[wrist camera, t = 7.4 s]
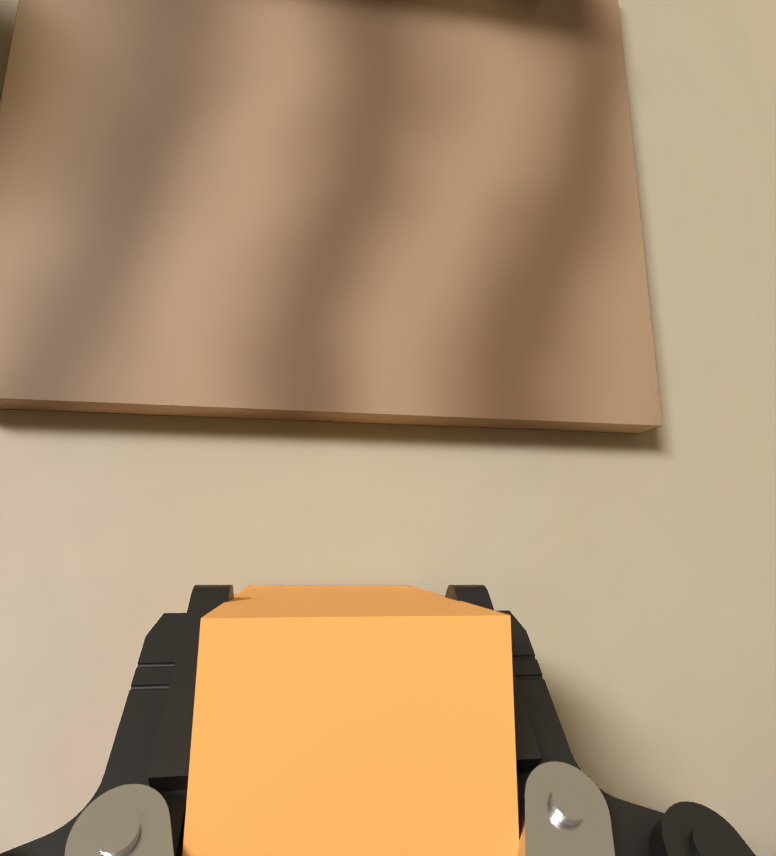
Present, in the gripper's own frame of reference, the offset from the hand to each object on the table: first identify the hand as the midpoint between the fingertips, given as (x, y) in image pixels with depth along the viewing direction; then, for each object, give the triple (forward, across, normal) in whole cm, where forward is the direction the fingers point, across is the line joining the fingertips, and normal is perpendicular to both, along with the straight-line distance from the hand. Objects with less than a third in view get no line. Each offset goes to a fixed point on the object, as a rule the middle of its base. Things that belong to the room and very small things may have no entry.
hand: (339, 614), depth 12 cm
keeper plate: (+13, 0, -7) cm, 15 cm away
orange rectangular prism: (+2, 0, +4) cm, 5 cm away
